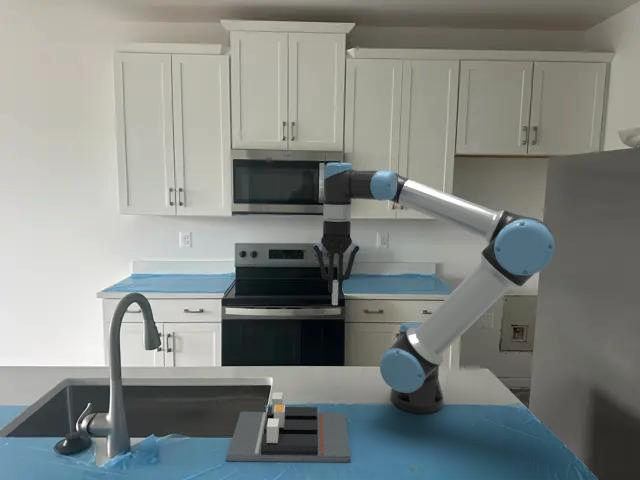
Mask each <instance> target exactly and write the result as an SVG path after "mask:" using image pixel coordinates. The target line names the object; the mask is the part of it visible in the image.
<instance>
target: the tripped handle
mask: <svg viewBox="0 0 640 480" xmlns="http://www.w3.org/2000/svg"><path fill="white" fill-rule="evenodd" d="M285 407H286V404H282V405H275V408H274V419H279V428H284V423H285Z"/></svg>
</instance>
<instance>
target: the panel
mask: <svg viewBox="0 0 640 480" xmlns="http://www.w3.org/2000/svg"><path fill="white" fill-rule="evenodd" d="M238 416H239V417H238V420H237V423H236V425H235V426H236V427H235V429H234V433H233V435H232V438H231V442H230V445H229V449H228V451H227V454H226V455H227V458H226V461H227V462H283V463H284V462H287V463H288V462H291V463H292V462H294V463H296V462H299V463H304V462H305V463H306V462H307V463H308V462H309V463H351V459H352V455H351V446H350V439H349V435H348V434H349V433H348V427H347V425H348V424H347V418H346V413H345V412H318V407H317V406H285V423H284V428H279V437H278V443H267V423H268V418H270V419H274V414H272V405H271V406H268V408H267V411H240V412H239V415H238Z"/></svg>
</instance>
